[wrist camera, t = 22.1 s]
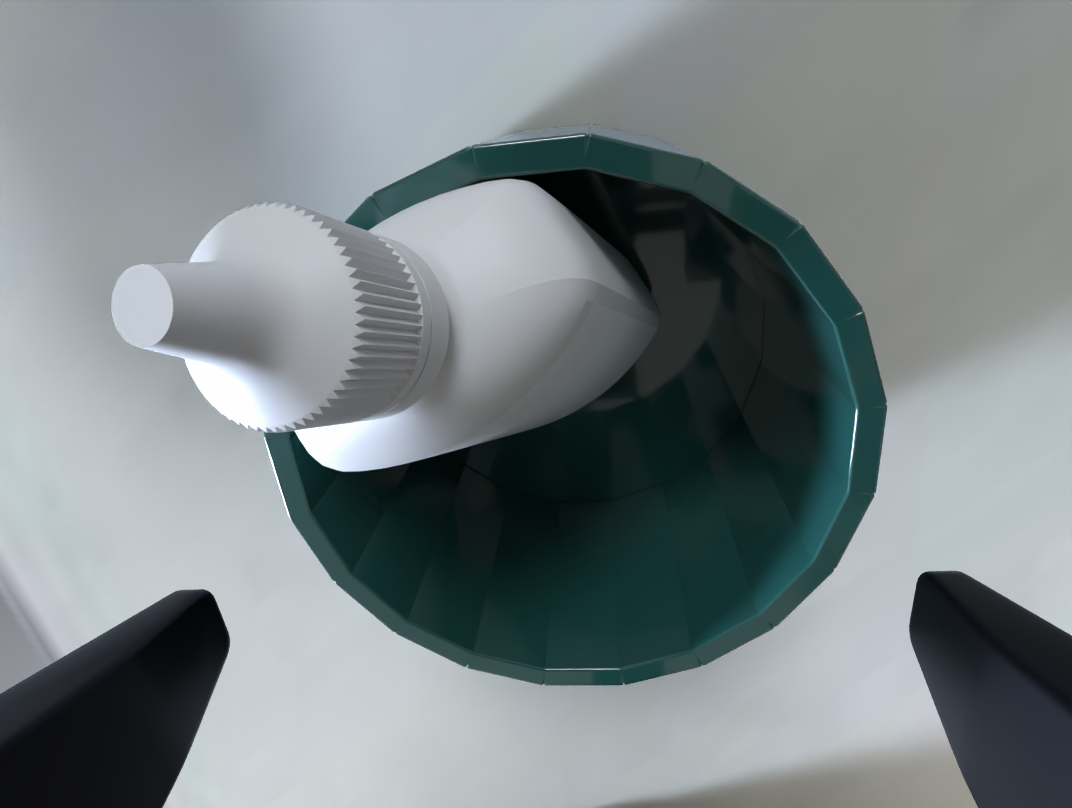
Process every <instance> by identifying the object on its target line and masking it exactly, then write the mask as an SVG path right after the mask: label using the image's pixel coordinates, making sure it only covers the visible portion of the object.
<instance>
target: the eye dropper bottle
mask: <svg viewBox="0 0 1072 808" xmlns="http://www.w3.org/2000/svg"><path fill="white" fill-rule="evenodd" d="M111 312H112V317H113V321H114V324H115V327H116V329H117V331H118V332H119V334H120V335H121V337H122V338H123V339H124V340H125V341H126V342H128V343H129V344H131V345H133V346H136V347H139V348H143V349H147V350H152V351H156V352H160V353H164V354H168V355H172V356H177V357H181V358H184V359H185V362H186V365H187V367H188V369H189V372H190V374H191V376H192V378H193V379H194V381H195V383H196V385H197V386H198V388H199V389H200V391H201V392H202V393H203V395H204V396H205V398H206V399H207V400H209V402H210V403H211V404H212V405H213V407H214V408H217V409H218V411H219V412H220V413H221V414H222V415H225V416H226V417H227V418H228V419H229V420H230V421H232V420H234V421H235V422H236V423H237V424H238V425H244V426H245V427H246V428H248V429H255V430H256V431H265V432H267V433H270V432H276V433H280V432H289V431H295V432H296V434H297V436H298V438H299V439H300V441H301V442H302V444H303V445H304V447H305V448H306V450H307V451H308V453H309V454H310V455H312V456H313V457H314V458H315V459H316V460H317V461H318V462H319V463H320V464H321V465H323V466H326V467H329V468H332V469H335V470H338V471H342V472H346V471H367V470H375V469H382V468H388V467H393V466H397V465H402V464H406V463H410V462H414V461H418V460H421V459H425V458H429V457H433V456H437V455H440V454H444V453H448V452H451V451H455V450H459V449H462V448H466V447H469V446H473V445H477V444H480V443H484V442H487V441H491V440H495V439H498V438H502V437H505V436H509V435H512V434H516V433H520V432H523V431H527V430H530V429H533V428H537V427H540V426H543V425H546V424H548V423H551V422H554V421H556V420H558V419H561V418H563V417H565V416H567V415H569V414H571V413H573V412H575V411H577V410H579V409H580V408H582V407H584V406H585V405H587V404H589V403H590V402H592V401H593V400H594V399H596V398H597V397H599V396H600V395H601V394H603V393H604V392H605V391H607V390H608V389H609V388H610V387H611V386H612V385H613V384H615V383H616V382H617V381H618V380H619V379H620V378H621V377H622V376H623V375H624V374H625V373H626V372H627V371H628V370H629V369H630V368H631V366H632V365H633V364H634V363H635V362H636V361H637V359H638V358H639V357H640V356H641V354H642V353H643V352H644V351H645V349H646V348H647V346H648V345H649V343H650V342H651V341H652V339H653V337H654V335H655V334H656V332H657V330H658V328H659V323H660V319H661V315H660V311H659V308H658V305H657V303H656V301H655V300H654V298H653V296H652V295H651V293H650V292H649V290H648V289H647V287H646V286H645V284H644V282H643V281H642V279H641V278H640V276H639V275H638V273H637V272H636V270H635V269H634V267H633V266H632V265H631V263H630V262H629V260H628V259H626V258H625V257H624V256H623V255H622V254H621V253H620V252H618V251H617V250H616V249H615V248H614V247H613V246H612V245H610V244H609V243H608V242H607V241H606V240H605V239H603V238H602V237H601V236H600V235H599V234H598V233H596V232H595V231H594V230H593V229H592V228H590V227H589V226H588V225H587V224H586V223H584V222H583V221H582V220H581V219H580V218H578V217H577V216H576V215H575V214H574V213H573V212H571V211H570V210H569V209H568V208H566V207H565V206H564V205H563V204H561V203H560V202H559V201H558V200H556V199H555V198H554V197H552V196H551V195H550V194H548V193H547V192H546V191H544V190H543V189H542V188H540V187H539V186H538V185H536V184H534V183H531V182H529V181H523V180H516V179H502V180H495V181H488V182H483V183H479V184H475V185H471V186H467V187H463V188H459V189H456V190H453V191H449V192H446V193H443V194H440V195H438V196H435V197H433V198H430V199H427V200H425V201H422V202H420V203H417V204H415V205H413V206H411V207H409V208H407V209H405V210H403V211H400V212H399V213H397V214H395V215H393V216H391V217H390V218H388V219H386V220H384V221H382V222H381V223H379V224H377V225H376V226H374V227H373V228H371V229H370V230H368V231H367V230H364V229H361V228H358V227H355V226H353V225H350V224H347V223H344V222H341V221H339V220H336V219H333V218H330V217H327V216H324V215H322V214H319V213H316V212H313V211H310V210H308V209H305V208H302V207H299V206H294V205H291V204H288V203H285V204H282V203H279V202H275V203H269V202H265V203H263V204H258V203H256V204H254V205H253V206H251V207H250V206H246V207H244V208H243V209H242V210H239V209H238V210H237V211H235V212H234V213H233V214H232V215H230V214H229V215H228V216H227V217H226V218H224V219H223V220H221V221H220V222H219V223H218V224H217V225H216V226H215V227H213V228H212V229H211V230H210V231H209V232H208V234H207V235H206V236H205V237H204V238H203V240H202V241H201V242H200V244H199V245H198V247H197V248H196V250H195V251H194V253H193V255H192V257H191V259H190V261H189V262H182V263H158V264H138V265H134V266H132V267H130V268H128V269H127V270H125V271H124V272H123V273H122V274H121V276H120V277H119V278H118V280H117V282H116V284H115V286H114V289H113V293H112V299H111Z"/></svg>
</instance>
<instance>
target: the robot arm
mask: <svg viewBox="0 0 1072 808" xmlns="http://www.w3.org/2000/svg"><path fill="white" fill-rule="evenodd" d="M909 632H910V639H911V643H912V646H913V649H914V651H915V654H916V657H917V659H918V662H919V664H920V667H921V670H922V672H923V675H924V678H925V680H926V683H927V685H928V688H929V691H930V693H931V696H932V698H933V701H934V704H935V706H936V709H937V711H938V714H939V717H940V719H941V722H942V724H943V727H944V730H945V732H946V735H947V738H948V740H949V743H950V745H951V748H952V751H953V753H954V756H955V758H956V760H957V763H958V765H959V768H960V770H961V773H962V775H963V777H964V779H965V781H966V783H967V785H968V787H969V790H970V792H971V794H972V796H973V798H974V800H975V802H976V804H977V806H978V808H1072V636H1071V635H1070V634H1068V633H1066V632H1065V631H1063V630H1061V629H1059V628H1058V627H1056V626H1054V625H1053V624H1051V623H1049V622H1047V621H1046V620H1044V619H1042V618H1040V617H1039V616H1037V615H1035V614H1034V613H1032V612H1030V611H1028V610H1027V609H1025V608H1023V607H1022V606H1020V605H1018V604H1016V603H1015V602H1013V601H1011V600H1009V599H1008V598H1006V597H1004V596H1003V595H1001V594H999V593H997V592H996V591H994V590H992V589H991V588H989V587H987V586H985V585H984V584H982V583H980V582H978V581H977V580H975V579H973V578H972V577H970V576H968V575H966V574H964V573H962V572H959V571H928V572H925V573H922V574H921V575H920V577H919V578H918V581H917V584H916V590H915V596H914V601H913V607H912V612H911V618H910V625H909ZM229 647H230V638H229V633H228V630H227V628H226V625H225V623H224V620H223V618H222V615H221V613H220V610H219V608H218V605H217V603H216V600H215V598H214V596H213V595H212V594H211V593H210V592H209V591H207V590H203V589H200V590H179V591H176V592H174V593H172V594H170V595H168V596H167V597H165V598H163V599H161V600H160V601H158V602H156V603H155V604H153V605H151V606H150V607H148V608H146V609H144V610H143V611H141V612H139V613H138V614H136V615H134V616H132V617H131V618H129V619H127V620H126V621H124V622H122V623H120V624H119V625H117V626H115V627H114V628H112V629H110V630H109V631H107V632H105V633H103V634H102V635H100V636H98V637H97V638H95V639H93V640H91V641H90V642H88V643H86V644H85V645H83V646H81V647H80V648H78V649H76V650H74V651H73V652H71V653H69V654H68V655H66V656H64V657H62V658H61V659H59V660H57V661H56V662H54V663H52V664H51V665H49V666H47V667H45V668H44V669H42V670H40V671H39V672H37V673H35V674H34V675H32V676H30V677H28V678H27V679H25V680H23V681H22V682H20V683H18V684H16V685H15V686H13V687H11V688H10V689H8V690H6V691H5V692H3V693H1V694H0V808H163V806H164V804H165V802H166V800H167V798H168V796H169V794H170V792H171V790H172V788H173V786H174V784H175V782H176V779H177V777H178V775H179V773H180V771H181V769H182V767H183V765H184V762H185V760H186V758H187V755H188V753H189V751H190V748H191V746H192V743H193V741H194V738H195V736H196V733H197V731H198V728H199V726H200V723H201V721H202V718H203V716H204V713H205V711H206V708H207V706H208V703H209V701H210V698H211V696H212V693H213V690H214V688H215V685H216V683H217V680H218V678H219V675H220V673H221V670H222V668H223V665H224V663H225V660H226V658H227V655H228V652H229Z"/></svg>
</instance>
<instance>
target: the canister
mask: <svg viewBox="0 0 1072 808" xmlns="http://www.w3.org/2000/svg"><path fill="white" fill-rule="evenodd" d="M502 179H516V180H523V181H529V182H531V183H534V184H536V185H538V186H539V187H540V188H542V189H543V190H544V191H546V192H547V193H548V194H550V195H551V196H552V197H554V198H555V199H556V200H558V201H559V202H560V203H561V204H563V205H564V206H565V207H566V208H568V209H569V210H570V211H571V212H573V213H574V214H575V215H576V216H577V217H578V218H580V219H581V220H582V221H583V222H584V223H586V224H587V225H588V226H589V227H590V228H592V229H593V230H594V231H595V232H596V233H598V234H599V235H600V236H601V237H602V238H603V239H605V240H606V241H607V242H608V243H609V244H610V245H612V246H613V247H614V248H615V249H616V250H617V251H618V252H620V253H621V254H622V255H623V256H624V257H625V258H626V259H628V260H629V262H630V263H631V265H632V266H633V267H634V269H635V270H636V272H637V273H638V275H639V276H640V278H641V279H642V281H643V282H644V284H645V286H646V287H647V289H648V290H649V292H650V293H651V295H652V296H653V298H654V300H655V301H656V303H657V305H658V308H659V311H660V315H661V319H660V323H659V328H658V330H657V332H656V334H655V335H654V337H653V339H652V341H651V342H650V343H649V345H648V346H647V348H646V349H645V351H644V352H643V353H642V354H641V356H640V357H639V358H638V359H637V361H636V362H635V363H634V364H633V365H632V366H631V368H630V369H629V370H628V371H627V372H626V373H625V374H624V375H623V376H622V377H621V378H620V379H619V380H618V381H617V382H616V383H615V384H613V385H612V386H611V387H610V388H609V389H608V390H607V391H605V392H604V393H603V394H601V395H600V396H599V397H597V398H596V399H594V400H593V401H592V402H590V403H589V404H587V405H585V406H584V407H582V408H580V409H579V410H577V411H575V412H573V413H571V414H569V415H567V416H565V417H563V418H561V419H558V420H556V421H554V422H551V423H548V424H546V425H543V426H540V427H537V428H533V429H530V430H527V431H523V432H520V433H516V434H512V435H509V436H505V437H502V438H498V439H495V440H491V441H487V442H484V443H480V444H477V445H473V446H469V447H466V448H462V449H459V450H455V451H451V452H448V453H444V454H440V455H437V456H433V457H429V458H425V459H421V460H418V461H414V462H410V463H406V464H402V465H397V466H393V467H388V468H382V469H375V470H367V471H346V472H342V471H338V470H335V469H332V468H329V467H326V466H323V465H321V464H320V463H319V462H318V461H317V460H316V459H315V458H314V457H313V456H312V455H310V454H309V453H308V451H307V450H306V448H305V447H304V445H303V444H302V442H301V441H300V439H299V438H298V436H297V434H296V432H295V431H289V432H280V433H276V432H270V433H267V432H265V431H264V438H265V444H266V447H267V450H268V453H269V456H270V459H271V463H272V466H273V469H274V472H275V475H276V478H277V482H278V485H279V488H280V491H281V494H282V497H283V501H284V504H285V507H286V510H287V513H288V515H289V516H290V519H291V521H292V522H293V524H294V525H295V527H296V528H297V529H298V531H299V532H300V534H301V535H302V537H303V538H304V540H305V541H306V542H307V544H308V545H309V547H310V548H311V550H312V551H313V553H314V554H315V555H316V557H317V558H318V560H319V561H320V563H321V564H322V566H323V567H324V568H325V570H326V571H327V573H328V574H329V576H330V577H331V579H332V580H333V581H335V583H336V584H337V585H338V586H339V587H340V588H341V589H343V590H344V591H345V592H346V593H347V594H349V595H350V596H351V597H352V598H353V599H355V600H356V601H357V602H358V603H359V604H361V605H362V606H363V607H364V608H365V609H367V610H368V611H369V612H370V613H371V614H373V615H374V616H375V617H376V618H377V619H378V620H380V621H381V622H382V623H383V624H384V625H386V626H387V627H388V628H389V629H390V630H392V631H393V632H396V634H398V635H400V636H402V637H404V638H406V639H408V640H410V641H412V642H414V643H416V644H418V645H420V646H422V647H424V648H426V649H428V650H430V651H432V652H435V653H437V654H439V655H441V656H443V657H445V658H447V659H449V660H451V661H453V662H455V663H457V664H459V665H461V666H463V667H466V666H467V668H469V669H473V670H478V671H482V672H487V673H491V674H495V675H500V676H504V677H509V678H513V679H517V680H522V681H526V682H531V683H535V684H539V685H543V684H545V685H623V683H624V684H626V685H627V684H631V683H635V682H639V681H643V680H647V679H651V678H656V677H660V676H664V675H668V674H672V673H676V672H680V671H685V670H689V669H693V668H697V667H700V666H701V665H706V664H708V663H710V662H711V661H713V660H715V659H717V658H719V657H721V656H723V655H725V654H727V653H728V652H730V651H732V650H734V649H736V648H738V647H740V646H742V645H744V644H745V643H747V642H749V641H751V640H753V639H755V638H757V637H759V636H761V635H762V634H764V633H766V632H768V631H770V630H772V629H773V628H774V627H776V626H777V625H779V624H780V623H781V622H782V621H783V620H784V619H785V618H786V617H787V616H788V615H789V614H790V613H791V612H792V611H793V610H794V609H795V608H796V607H797V606H798V605H799V604H800V603H801V602H802V601H803V600H804V599H806V598H807V597H808V596H809V595H810V594H811V593H812V592H813V591H814V590H815V589H816V588H817V587H818V586H819V585H820V584H821V583H822V582H823V581H824V580H825V579H826V578H827V577H828V576H829V575H830V574H831V573H832V572H833V571H834V569H835V568H836V567H837V565H838V563H839V562H840V560H841V558H842V556H843V554H844V552H845V550H846V548H847V546H848V545H849V543H850V541H851V539H852V537H853V535H854V533H855V531H856V529H857V528H858V526H859V524H860V522H861V520H862V518H863V516H864V514H865V512H866V511H867V509H868V507H869V505H870V503H871V501H872V499H873V497H874V493H875V492H876V487H877V479H878V472H879V464H880V457H881V450H882V442H883V435H884V427H885V420H886V412H887V405H886V402H887V400H886V396H885V392H884V388H883V384H882V380H881V376H880V372H879V368H878V364H877V360H876V356H875V352H874V348H873V344H872V340H871V336H870V332H869V328H868V324H867V320H866V316H865V313H864V311H863V309H862V306H861V304H860V303H859V302H858V300H857V299H856V298H855V296H854V295H853V293H852V292H851V291H850V289H849V288H848V286H847V285H846V284H845V282H844V281H843V280H842V278H841V277H840V275H839V274H838V273H837V271H836V270H835V268H834V267H833V266H832V264H831V263H830V262H829V260H828V259H827V257H826V256H825V255H824V253H823V252H822V250H821V249H820V248H819V246H818V245H817V244H816V242H815V241H814V239H813V238H812V237H811V235H810V234H809V233H808V231H807V230H806V228H805V227H804V226H803V225H802V224H800V223H799V221H798V220H796V219H795V218H793V217H792V216H790V215H789V214H787V213H786V212H784V211H783V210H781V209H779V208H778V207H776V206H775V205H773V204H772V203H770V202H769V201H767V200H766V199H764V198H763V197H761V196H760V195H758V194H757V193H755V192H754V191H752V190H750V189H749V188H747V187H746V186H744V185H743V184H741V183H740V182H738V181H737V180H735V179H734V178H732V177H731V176H729V175H728V174H726V173H724V172H723V171H721V170H720V169H718V168H717V167H715V166H714V165H712V164H711V163H709V162H707V161H705V160H703V159H701V158H699V157H697V156H695V155H692V154H690V153H688V152H686V151H684V150H682V149H680V148H678V147H675V146H673V145H671V144H669V143H667V142H664V141H662V140H659V139H655V138H651V137H646V136H642V135H638V134H634V133H629V132H625V131H621V130H617V129H612V128H608V127H604V126H600V125H595V124H593V125H592V126H591V124H584V125H575V126H566V127H555V128H548V129H539V130H530V131H522V132H518V133H514V134H511V135H507V136H504V137H500V138H497V139H493V140H489V141H486V142H482V143H479V144H475V145H472V146H468V147H466V148H464V149H462V150H460V151H457V152H455V153H453V154H451V155H449V156H447V157H445V158H443V159H441V160H439V161H437V162H435V163H433V164H431V165H429V166H427V167H425V168H423V169H421V170H419V171H417V172H415V173H413V174H411V175H409V176H407V177H405V178H402V179H400V180H398V181H396V182H394V183H392V184H390V185H388V186H386V187H384V188H382V189H380V190H378V191H376V192H374V193H373V195H372V196H369V197H368V198H367V199H366V200H365V201H364V202H363V203H362V204H361V205H360V206H359V207H358V208H357V209H356V210H355V211H354V212H353V213H352V215H351V216H350V217H349V218H348V219H347V220H346V221H345V222H344V223H347V224H350V225H353V226H355V227H358V228H361V229H364V230H367V231H368V230H370V229H371V228H373V227H374V226H376V225H377V224H379V223H381V222H382V221H384V220H386V219H388V218H390V217H391V216H393V215H395V214H397V213H399V212H400V211H403V210H405V209H407V208H409V207H411V206H413V205H415V204H417V203H420V202H422V201H425V200H427V199H430V198H433V197H435V196H438V195H440V194H443V193H446V192H449V191H453V190H456V189H459V188H463V187H467V186H471V185H475V184H479V183H483V182H488V181H495V180H502Z"/></svg>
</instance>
